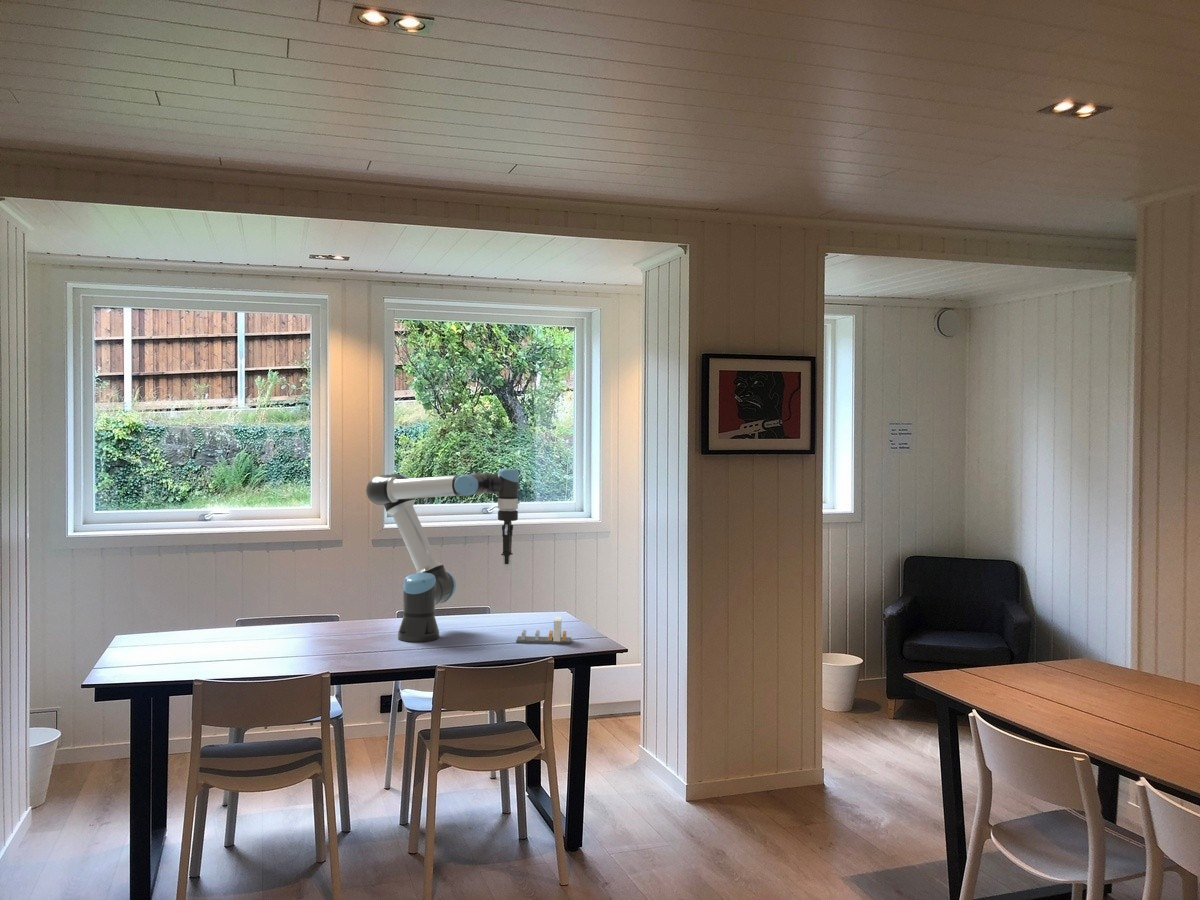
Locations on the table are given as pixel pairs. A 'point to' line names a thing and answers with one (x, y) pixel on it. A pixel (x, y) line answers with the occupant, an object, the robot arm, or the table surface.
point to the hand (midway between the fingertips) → (506, 572)
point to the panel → (557, 628)
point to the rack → (543, 638)
